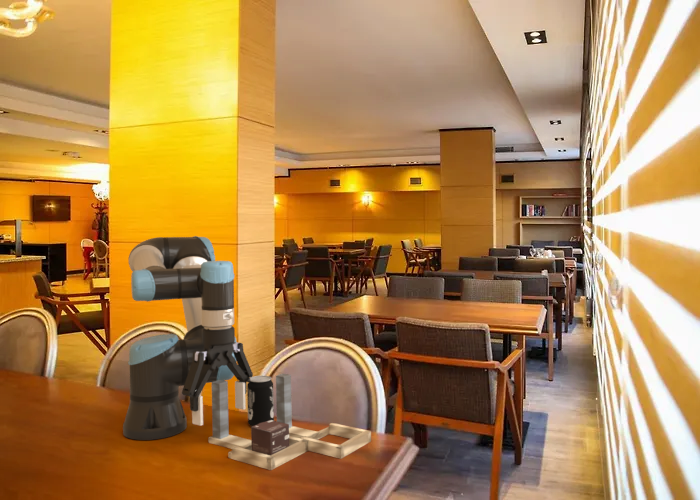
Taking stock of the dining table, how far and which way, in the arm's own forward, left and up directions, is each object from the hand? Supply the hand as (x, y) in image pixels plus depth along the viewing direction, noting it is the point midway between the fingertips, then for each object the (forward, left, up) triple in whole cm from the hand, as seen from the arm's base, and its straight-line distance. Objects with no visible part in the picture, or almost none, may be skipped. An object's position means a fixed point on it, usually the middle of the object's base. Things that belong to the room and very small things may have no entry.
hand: (220, 416), depth 136 cm
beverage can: (0, +14, -6) cm, 15 cm away
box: (+17, -2, -6) cm, 18 cm away
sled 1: (+10, 0, -6) cm, 11 cm away
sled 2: (+19, +12, -6) cm, 23 cm away
